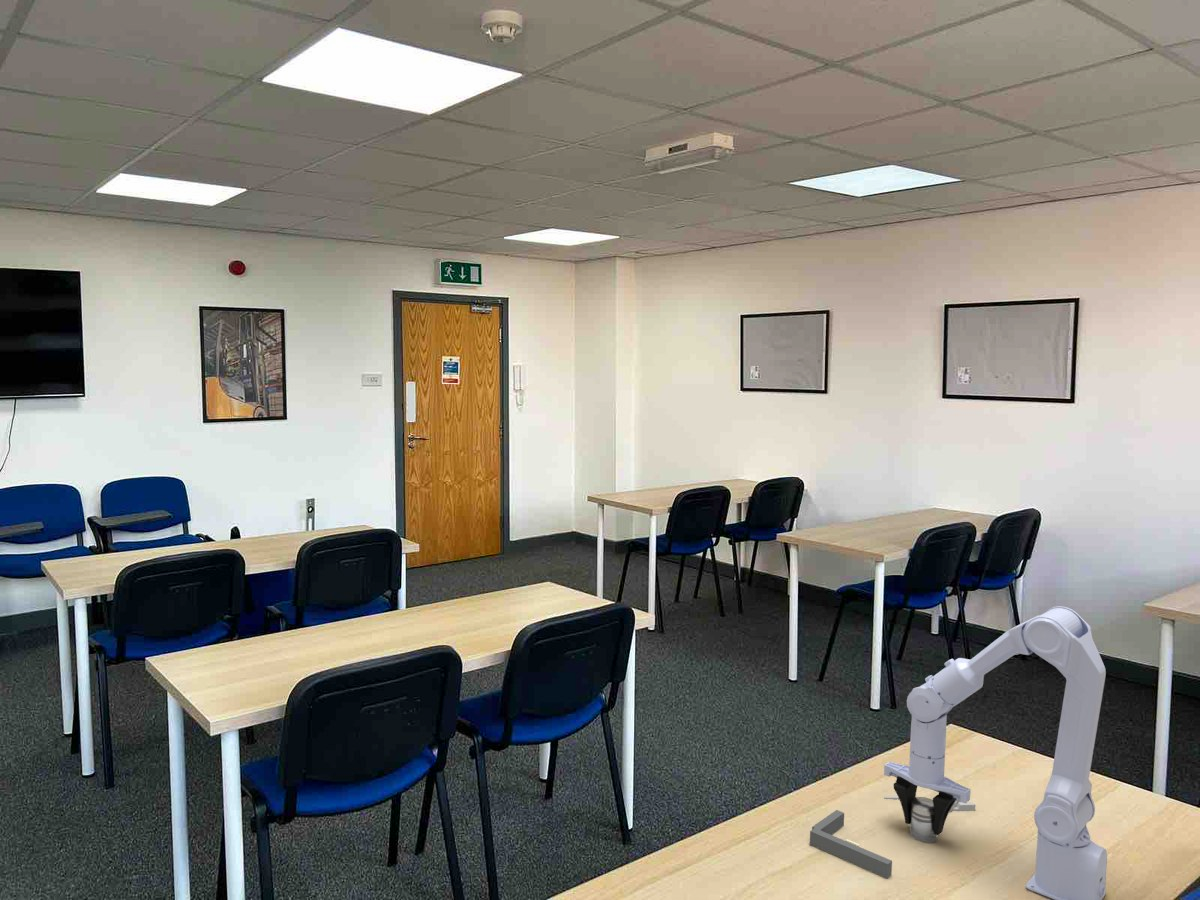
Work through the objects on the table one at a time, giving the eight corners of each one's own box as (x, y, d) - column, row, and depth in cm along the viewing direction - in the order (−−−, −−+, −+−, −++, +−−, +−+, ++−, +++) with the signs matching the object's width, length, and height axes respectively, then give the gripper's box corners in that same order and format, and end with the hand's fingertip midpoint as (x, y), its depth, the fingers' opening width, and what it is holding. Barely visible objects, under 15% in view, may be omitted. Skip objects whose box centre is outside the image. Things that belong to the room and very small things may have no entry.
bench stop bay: (914, 854, 143) (915, 840, 143) (887, 878, 136) (887, 863, 136) (836, 822, 153) (836, 809, 153) (807, 843, 146) (807, 829, 146)
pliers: (883, 791, 163) (956, 787, 165) (883, 799, 163) (955, 795, 165) (909, 817, 153) (986, 812, 155) (909, 826, 153) (986, 821, 155)
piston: (941, 836, 149) (943, 803, 149) (930, 846, 146) (932, 812, 145) (916, 826, 152) (917, 794, 152) (904, 835, 149) (906, 802, 149)
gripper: (978, 758, 146) (974, 834, 147) (897, 733, 156) (894, 804, 157) (962, 771, 141) (958, 850, 142) (879, 744, 151) (876, 817, 152)
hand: (923, 827), depth 149 cm, fingers closed on piston, 4 cm apart
